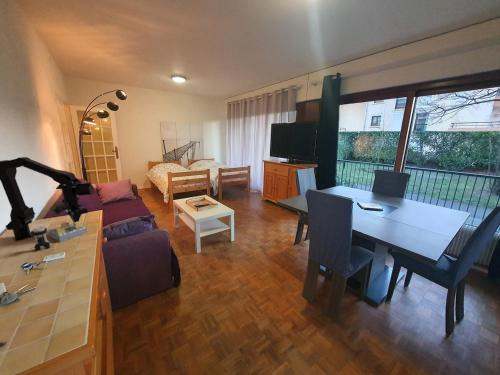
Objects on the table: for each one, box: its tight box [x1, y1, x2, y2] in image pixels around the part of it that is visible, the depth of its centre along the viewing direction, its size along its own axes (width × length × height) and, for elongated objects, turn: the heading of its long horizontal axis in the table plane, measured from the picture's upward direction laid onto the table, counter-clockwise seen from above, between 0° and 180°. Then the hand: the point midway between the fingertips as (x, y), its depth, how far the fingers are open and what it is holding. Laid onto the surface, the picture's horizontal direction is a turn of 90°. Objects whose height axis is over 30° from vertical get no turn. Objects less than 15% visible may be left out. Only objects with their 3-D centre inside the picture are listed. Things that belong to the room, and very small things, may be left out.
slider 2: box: [60, 222, 70, 229], centre depth 111 cm, size 2×3×3 cm
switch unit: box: [47, 223, 88, 243], centre depth 111 cm, size 14×12×3 cm
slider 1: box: [54, 226, 65, 235], centre depth 105 cm, size 2×3×3 cm
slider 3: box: [72, 220, 84, 229], centre depth 112 cm, size 2×3×3 cm
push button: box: [30, 226, 51, 252], centre depth 95 cm, size 7×5×10 cm
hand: (76, 224), depth 114 cm, fingers closed
